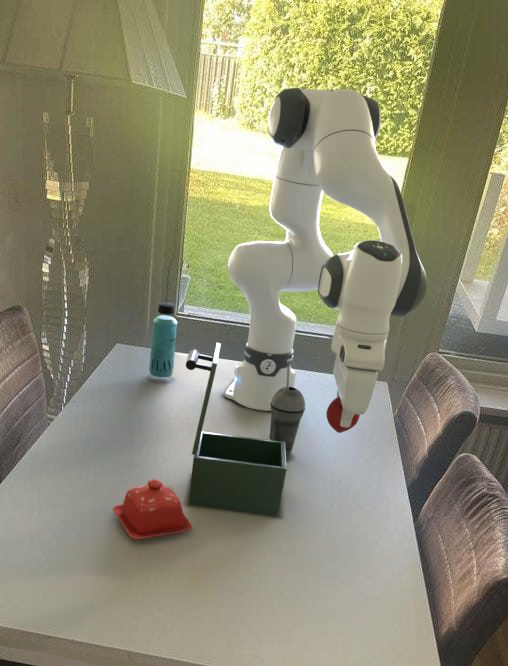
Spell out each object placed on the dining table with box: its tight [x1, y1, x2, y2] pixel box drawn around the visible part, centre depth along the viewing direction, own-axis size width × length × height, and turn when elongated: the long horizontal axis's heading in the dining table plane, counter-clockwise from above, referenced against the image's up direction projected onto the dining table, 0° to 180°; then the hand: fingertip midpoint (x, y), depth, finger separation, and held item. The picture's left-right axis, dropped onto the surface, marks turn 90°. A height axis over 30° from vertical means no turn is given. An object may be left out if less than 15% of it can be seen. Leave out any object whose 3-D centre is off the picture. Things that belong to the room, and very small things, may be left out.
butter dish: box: [112, 478, 193, 540], centre depth 119 cm, size 12×12×8 cm
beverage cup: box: [269, 366, 306, 461], centre depth 145 cm, size 7×7×20 cm
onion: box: [326, 396, 361, 434], centre depth 124 cm, size 6×6×8 cm
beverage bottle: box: [148, 302, 178, 378], centre depth 180 cm, size 6×7×20 cm
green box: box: [188, 431, 287, 517], centre depth 131 cm, size 17×12×10 cm
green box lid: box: [185, 342, 222, 456], centre depth 124 cm, size 17×12×5 cm
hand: (342, 417), depth 125 cm, fingers closed on onion, 6 cm apart
